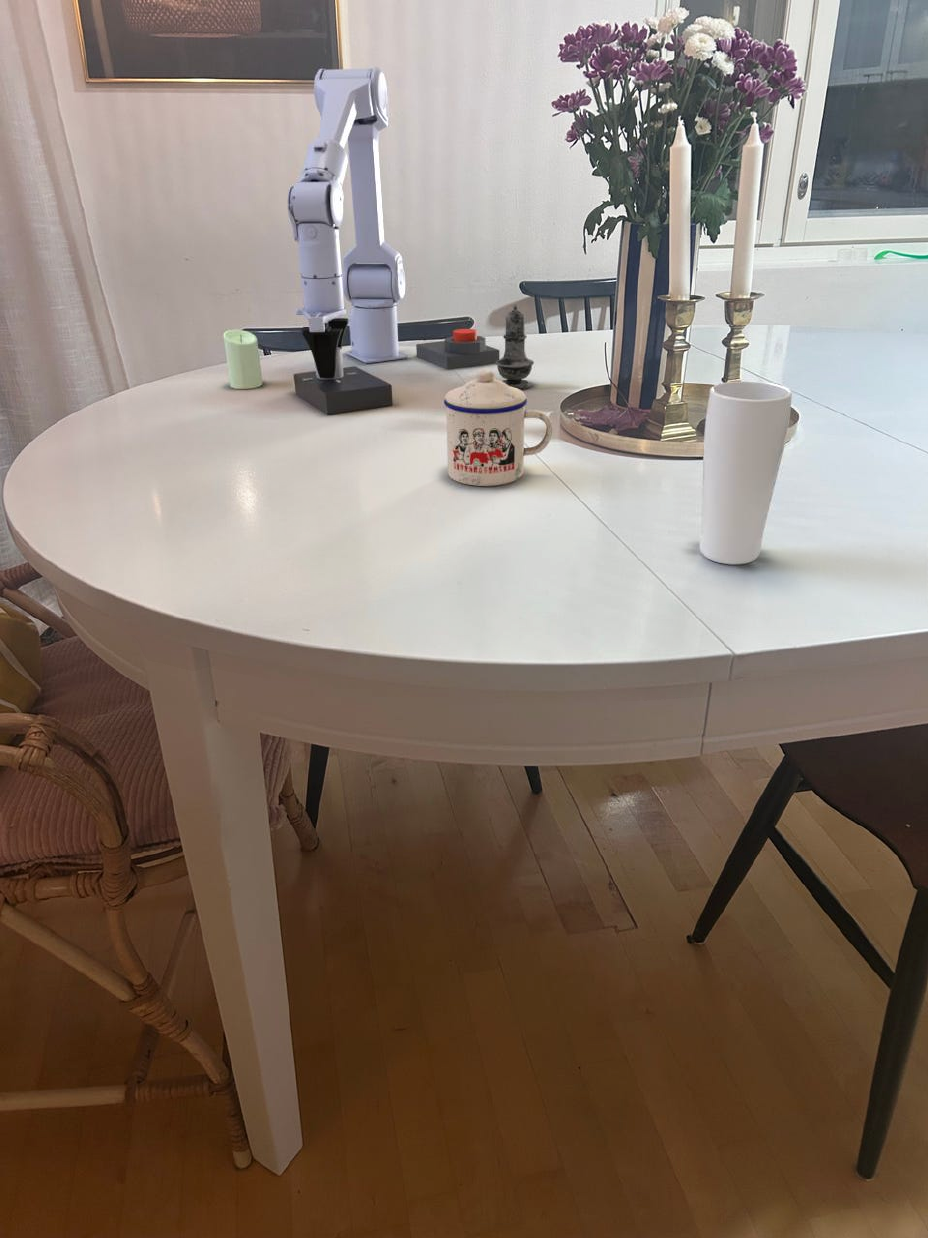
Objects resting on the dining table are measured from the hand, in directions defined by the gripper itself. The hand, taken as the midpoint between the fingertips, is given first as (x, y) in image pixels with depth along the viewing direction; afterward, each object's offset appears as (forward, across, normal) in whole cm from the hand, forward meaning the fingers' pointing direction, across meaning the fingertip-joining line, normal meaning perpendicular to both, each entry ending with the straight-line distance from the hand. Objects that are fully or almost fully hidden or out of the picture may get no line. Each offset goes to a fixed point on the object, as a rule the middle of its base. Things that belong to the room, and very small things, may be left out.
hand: (329, 373), depth 133 cm
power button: (0, -22, +19) cm, 30 cm away
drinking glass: (+4, +58, +46) cm, 74 cm away
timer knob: (0, 0, 0) cm, 0 cm away
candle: (+4, -8, -15) cm, 17 cm away
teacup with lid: (+4, +35, +25) cm, 43 cm away
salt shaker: (+4, -6, +27) cm, 28 cm away
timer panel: (+3, +1, +2) cm, 4 cm away
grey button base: (+3, -25, +18) cm, 31 cm away
